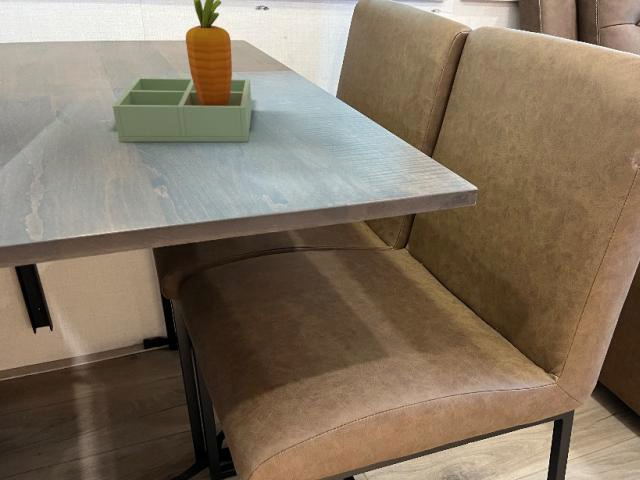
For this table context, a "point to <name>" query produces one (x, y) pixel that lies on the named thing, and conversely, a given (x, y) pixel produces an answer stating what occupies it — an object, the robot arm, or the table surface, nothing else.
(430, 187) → the table surface
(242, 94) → the grid
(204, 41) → the carrot
